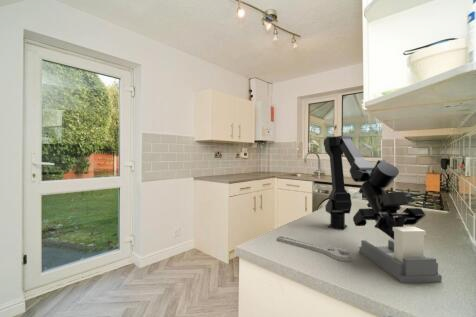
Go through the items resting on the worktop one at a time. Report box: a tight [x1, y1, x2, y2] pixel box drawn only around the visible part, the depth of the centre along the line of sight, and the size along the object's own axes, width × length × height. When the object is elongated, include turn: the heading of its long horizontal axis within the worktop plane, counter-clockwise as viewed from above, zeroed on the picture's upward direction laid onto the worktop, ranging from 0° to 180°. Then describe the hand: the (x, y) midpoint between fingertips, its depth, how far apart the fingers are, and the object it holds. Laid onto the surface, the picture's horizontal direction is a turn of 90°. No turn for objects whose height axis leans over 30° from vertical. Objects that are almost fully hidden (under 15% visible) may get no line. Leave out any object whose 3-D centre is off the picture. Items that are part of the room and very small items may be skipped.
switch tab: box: [393, 226, 427, 264], centre depth 60 cm, size 5×6×10 cm
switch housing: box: [358, 239, 443, 284], centre depth 65 cm, size 18×10×6 cm, turn 2°
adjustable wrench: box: [276, 235, 352, 262], centre depth 77 cm, size 25×6×2 cm, turn 45°
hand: (403, 244), depth 62 cm, fingers closed, pressing on switch tab
